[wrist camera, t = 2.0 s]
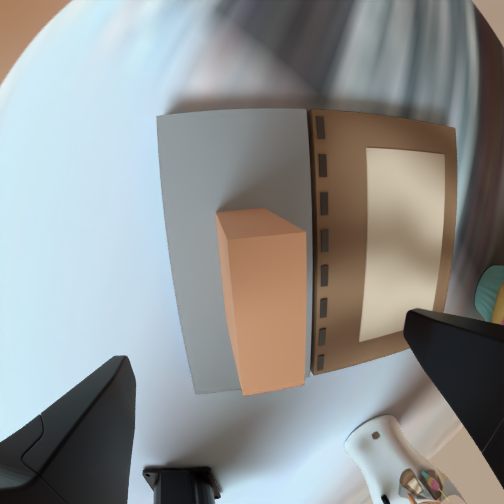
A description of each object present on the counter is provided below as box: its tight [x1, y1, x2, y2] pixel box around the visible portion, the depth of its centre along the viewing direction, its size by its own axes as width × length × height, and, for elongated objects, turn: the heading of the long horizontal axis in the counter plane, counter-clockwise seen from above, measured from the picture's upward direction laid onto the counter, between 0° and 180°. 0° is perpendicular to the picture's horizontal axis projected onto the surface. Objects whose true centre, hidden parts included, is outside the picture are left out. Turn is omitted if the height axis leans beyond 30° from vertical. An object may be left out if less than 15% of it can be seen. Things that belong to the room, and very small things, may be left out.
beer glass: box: [344, 415, 467, 504], centre depth 17 cm, size 7×7×15 cm
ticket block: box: [307, 109, 457, 375], centre depth 18 cm, size 16×11×2 cm
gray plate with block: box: [156, 108, 313, 396], centre depth 13 cm, size 16×7×8 cm, turn 4°
